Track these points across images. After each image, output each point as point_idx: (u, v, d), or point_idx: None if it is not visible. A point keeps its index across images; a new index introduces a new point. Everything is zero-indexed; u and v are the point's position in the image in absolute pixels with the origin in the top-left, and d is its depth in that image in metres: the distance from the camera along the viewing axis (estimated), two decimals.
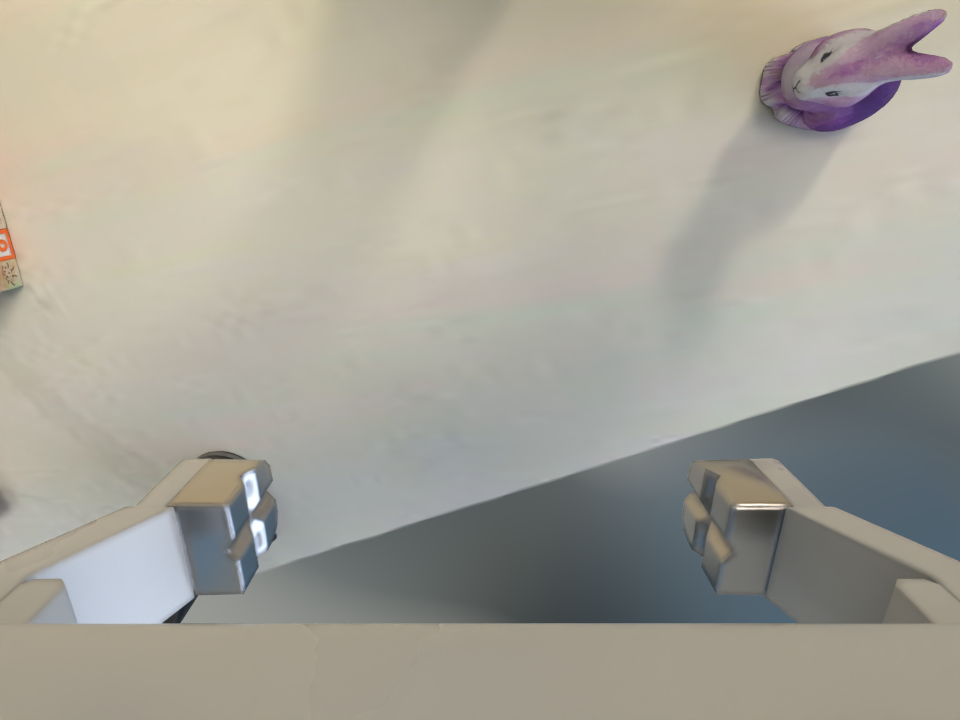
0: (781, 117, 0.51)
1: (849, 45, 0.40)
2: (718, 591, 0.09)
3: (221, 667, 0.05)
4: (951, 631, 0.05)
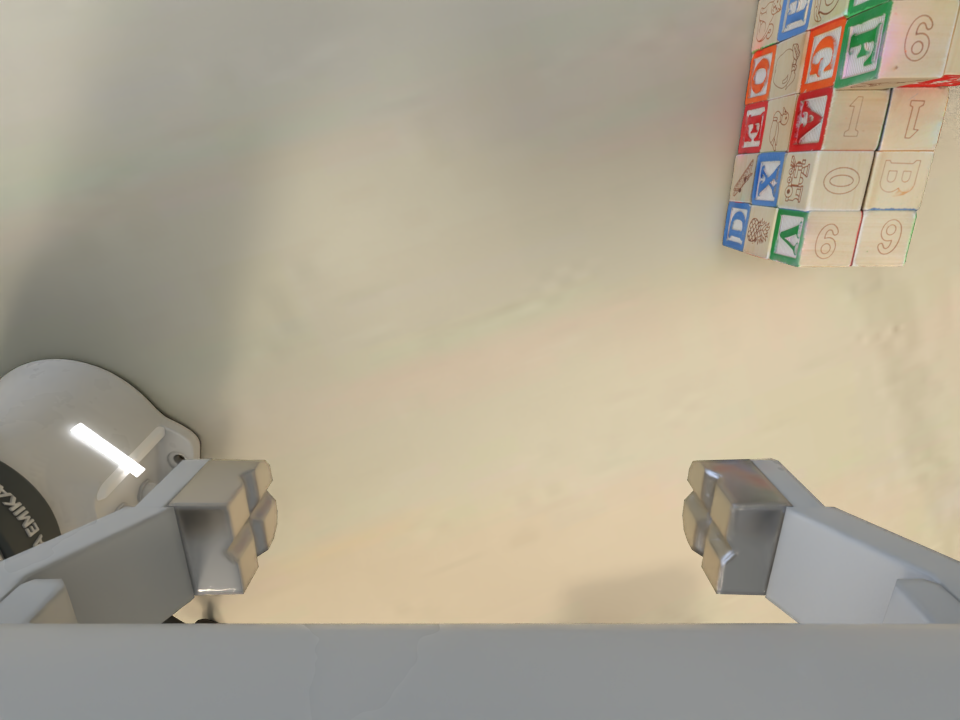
0: None
1: None
2: (718, 592, 0.09)
3: (220, 666, 0.05)
4: (951, 631, 0.05)
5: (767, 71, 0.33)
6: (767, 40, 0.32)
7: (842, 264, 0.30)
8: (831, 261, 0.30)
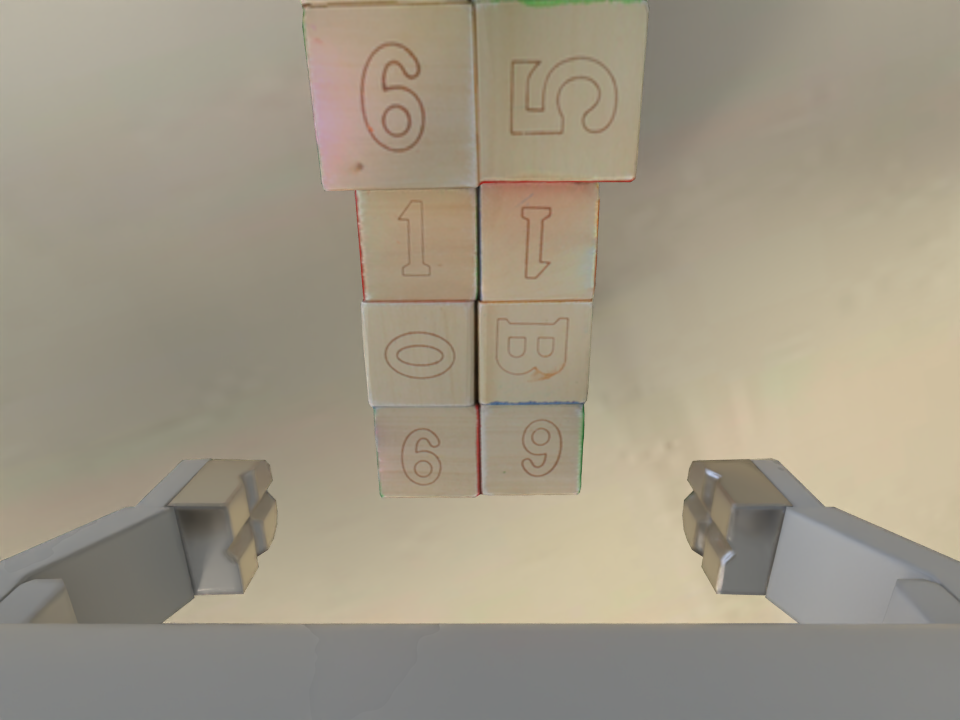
0: None
1: None
2: (718, 591, 0.09)
3: (219, 667, 0.05)
4: (951, 631, 0.05)
5: None
6: None
7: (462, 492, 0.16)
8: (440, 489, 0.16)
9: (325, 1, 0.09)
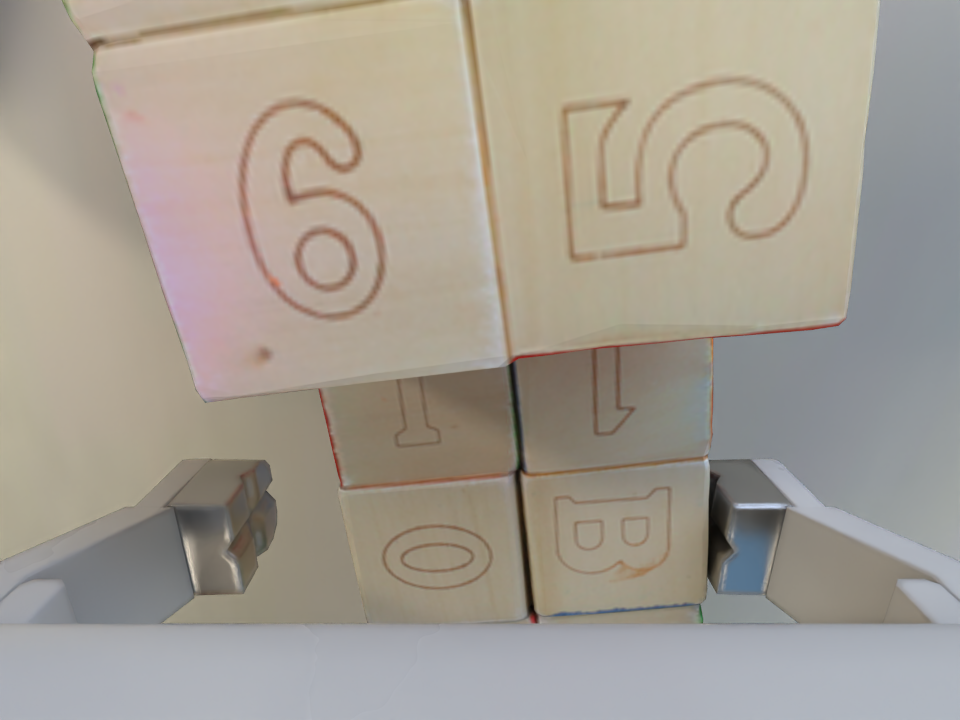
0: None
1: None
2: (719, 592, 0.09)
3: (221, 666, 0.05)
4: (951, 631, 0.05)
5: None
6: None
7: None
8: None
9: (131, 29, 0.04)
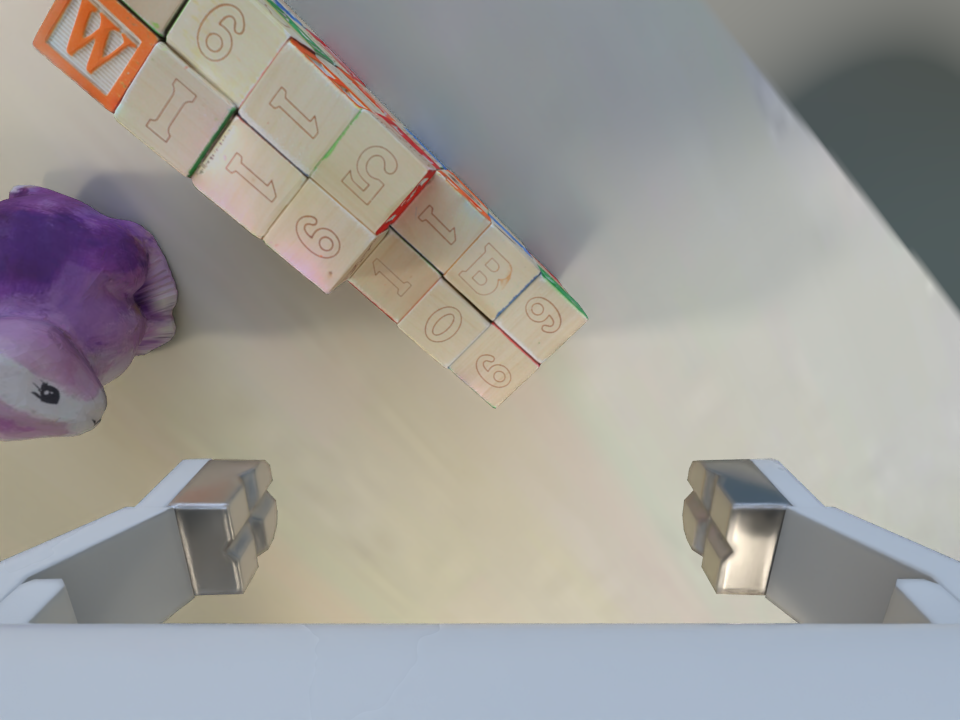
0: (169, 297, 0.32)
1: None
2: (718, 591, 0.09)
3: (220, 666, 0.05)
4: (951, 631, 0.05)
5: None
6: None
7: (530, 371, 0.24)
8: (517, 379, 0.25)
9: (266, 230, 0.19)
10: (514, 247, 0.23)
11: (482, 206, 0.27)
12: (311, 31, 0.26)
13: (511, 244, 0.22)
